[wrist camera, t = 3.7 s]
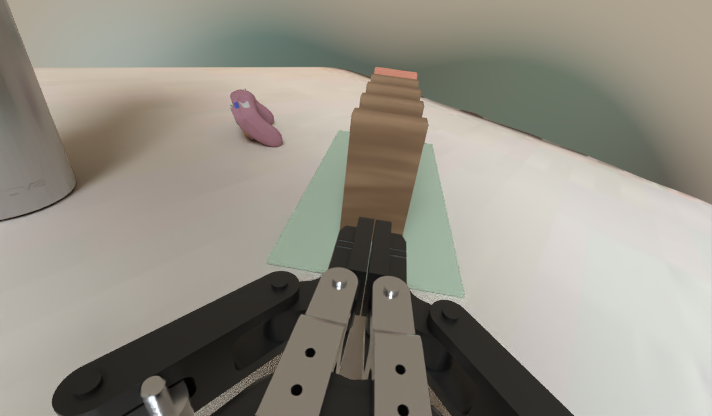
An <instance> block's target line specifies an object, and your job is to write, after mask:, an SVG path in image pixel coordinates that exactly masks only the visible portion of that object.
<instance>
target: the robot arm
mask: <svg viewBox="0 0 712 416" xmlns="http://www.w3.org/2000/svg"><path fill="white" fill-rule="evenodd" d="M75 184H76V179H75V177H74V174H73V171H72V169H71V166H70V163H69V161H68V158H67V156H66V153H65V150H64V148H63V145H62V143H61V140H60V137H59V134H58V132H57V129H56V126H55V124H54V121H53V119H52V116H51V114H50V111H49V108H48V106H47V103H46V101H45V98H44V95H43V93H42V90H41V88H40V85H39V83H38V80H37V77H36V75H35V72H34V70H33V67H32V65H31V62H30V60H29V57H28V54H27V52H26V49H25V47H24V45H23V41H22V39H21V37H20V34H19V32H18V29H17V26H16V23H15V21H14V18H13V16H12V13H11V11H10V8H9V6H8V3H7V1H6V0H0V220H2V219H7V218H11V217H15V216H19V215H23V214H26V213H29V212H32V211H35V210H38V209H41V208H43V207H45V206H48V205H50V204H52V203H54V202H56V201H58V200H60V199H62V198H63V197H65V196H66V195H67V194H69V193H70V192H71V191H72V190H73V188H74V187H75ZM374 220H375V219H372V218H366V217H359V219H358V223H357V227H353V226H347V225H346V226H345V227H343V228H342V229H341V230H340V231H339V234H338V237H337V240H336V244H335V247H334V251H333V254H332V257H331V261H330V264H329V267H328V270H327V271H325V272H324V273H323V275H322V276H321V277H320V278H318V279H316V280H312V281H301V282H299V280H298V278H297V277H296V276H295V275H294V274H292V273H289V272H286V271H276V272H272V273H270V274H268V275H266V276H264V277H262V278H260V279H258V280H255V281H253V282H251V283H249V284H247V285H245V286H243V287H241V288H239V289H237V290H235V291H233V292H231V293H229V294H227V295H225V296H223V297H221V298H219V299H217V300H215V301H213V302H211V303H209V304H207V305H205V306H203V307H201V308H199V309H197V310H195V311H193V312H191V313H189V314H187V315H185V316H183V317H181V318H179V319H177V320H175V321H173V322H171V323H169V324H167V325H165V326H163V327H161V328H159V329H156V330H154V331H152V332H150V333H148V334H146V335H144V336H142V337H140V338H138V339H136V340H134V341H132V342H130V343H128V344H126V345H124V346H122V347H120V348H118V349H116V350H114V351H112V352H110V353H108V354H106V355H104V356H102V357H100V358H98V359H96V360H94V361H92V362H90V363H88V364H86V365H84V366H82V367H80V368H78V369H77V370H75V371H74V372H72V373H71V374H70V375H68V376H67V377H66V378H65V379H64V380H63V381H62V382H61V383H60V385H59V386H58V387H57V389H56V391H55V393H54V395H53V398H52V406H53V409H54V411H55V412H56V413H57V415H58V416H194V413H195V412H196V411H198V410H199V409H201V408H202V407H203V406H205V405H206V404H208V403H209V402H211V401H212V400H214V399H215V398H216V397H218V396H219V395H221V394H222V393H224V392H225V391H227V390H228V389H230V388H231V387H232V386H234V385H235V384H237V383H238V382H240V381H241V380H243V379H244V378H245V377H247V376H248V375H250V374H251V373H253V372H254V371H256V370H257V369H258V368H260V367H261V366H263V365H264V364H266V363H267V362H269V361H270V360H271V359H273V358H274V357H276V356H277V355H279V354H280V353H282V352H283V351H284V352H283V354H282V357H281V359H280V361H279V363H278V366H277V368H276V370H275V372H274V373H273V374H270V375H267V376H265V377H263V378H261V379H259V380H257V381H256V382H254V383H252V384H251V385H250V386H248V387H247V388H246V389H244V390H243V391H242V392H240V393H239V394H238V395H236V396H235V397H234V398H233V399H231V400H230V401H229V402H227V403H226V404H225V405H223V406H222V407H221V408H219V409H218V410H217V411H215V412H214V413H213V414H212V415H210V416H442V414H441V413H440V412H439V411H438V410H437V409H436V408H435V407H434V406H432V405H431V404H430V398H429V391H428V385H429V386H430V387H431V389H432V390H433V391H434V393H435V394H436V395H437V397H438V398H439V399H440V401H441V402H442V403H443V405H444V406H445V407H446V409H447V410H448V411H449V413H450V414H451V415H452V416H574V415H573V414H572V413H571V412H570V411H569V410H568V409H567V408H566V407H565V406H564V405H563V404H562V403H561V402H560V401H559V400H557V399H556V398H555V397H554V396H553V395H552V394H551V393H550V392H549V391H548V390H547V389H546V388H545V387H544V386H543V385H542V384H541V383H540V382H539V381H538V380H537V379H536V378H535V377H534V376H533V375H532V374H531V373H530V372H529V371H528V370H527V369H526V368H525V367H524V366H522V365H521V364H520V363H519V362H518V361H517V360H516V359H515V358H514V357H513V356H512V355H511V354H510V353H509V352H508V351H507V350H506V349H505V348H504V347H503V346H502V345H501V344H500V343H499V342H498V341H497V340H496V339H495V338H494V337H493V336H492V335H491V334H490V333H488V332H487V331H486V330H485V329H484V328H483V327H482V326H481V325H480V324H479V323H478V322H477V321H476V320H475V319H474V318H473V317H472V316H471V315H470V314H469V313H468V312H467V311H466V310H465V309H464V308H463V307H461V306H460V305H459V304H457V303H455V302H452V301H449V300H439V301H436V302H434V303H433V304H432V305H431V304H429V303H426V302H424V301H422V300H420V299H418V298H417V297H416V296H414V295H413V294H412V293H411V291H410V289H409V287H408V285H407V259H406V257H407V252H406V251H407V248H406V241H405V239H404V237H403V236H402V234H395V233H391V228H392V222H390V221H384V220H378V219H376V222H375V228H374V233H373V227H374ZM372 234H373V239H372ZM371 241H372V245H371ZM370 248H371V251H370ZM369 255H370V257H369ZM368 262H369V264H368ZM367 269H368V271H367ZM366 275H367V278H366ZM365 281H366V285H365ZM364 287H365V293H364ZM363 293H364V300H363V307H362V314H361V316H366V324H365V329H364V336H363V363H362V380H350V379H348V378H345V377H343V376H341V375H339V373H340V370H341V366H342V362H343V358H344V354H345V350H346V347H347V343H348V339H349V335H350V330H351V328H352V326H353V323H354V317H355V315H360V310H361V304H362V298H363Z"/></svg>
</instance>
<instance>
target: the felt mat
mask: <svg viewBox="0 0 712 416" xmlns="http://www.w3.org/2000/svg"><path fill="white" fill-rule="evenodd" d="M349 136H350V132H347V131H340V130H339V131H338V133H337V135H336V137H335V139H334V140H333V142H332V144H331V146H330V148H329V149H328V151H327V153H326V155H325V157H324V158H323V160H322V162H321V164H320V166H319V168H318V169H317V171H316V173H315V175H314V177H313V178H312V180H311V182H310V184H309V186H308V187H307V189H306V191H305V193H304V195H303V196H302V198H301V200H300V202H299V204H298V205H297V207H296V209H295V211H294V213H293V214H292V216H291V218H290V220H289V222H288V224H287V225H286V227H285V229H284V231H283V233H282V234H281V236H280V238H279V240H278V242H277V243H276V245H275V247H274V249H273V251H272V252H271V254H270V256H269V258H268V260H267V264H273V265H278V266H284V267H290V268H296V269H301V270H307V271H313V272H319V273H324V272H325V271H327V270H328V267H329V264H330V261H331V257H332V254H333V251H334V247H335V244H336V240H337V237H338V234H339V231H340V222H341V213H342V203H343V193H344V184H345V174H346V165H347V155H348V145H349ZM403 237H404V239H405V241H406V248H407V251H406V252H407V257H406V259H407V285H408V287H409V288H411V289H417V290H423V291H428V292H434V293H440V294H446V295H451V296H457V297H464V295H465V294H464V290H463V285H462V280H461V276H460V271H459V267H458V262H457V257H456V253H455V248H454V243H453V239H452V234H451V229H450V225H449V220H448V216H447V211H446V206H445V202H444V197H443V192H442V188H441V183H440V179H439V174H438V169H437V165H436V160H435V155H434V151H433V146H432V144H427V143H424V146H423V150H422V155H421V159H420V163H419V167H418V172H417V176H416V180H415V185H414V189H413V193H412V197H411V202H410V206H409V210H408V215H407V219H406V223H405V227H404V232H403ZM371 245H372V242H371ZM370 251H371V248H370ZM369 257H370V255H369ZM368 264H369V262H368ZM367 271H368V269H367ZM366 278H367V275H366Z"/></svg>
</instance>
